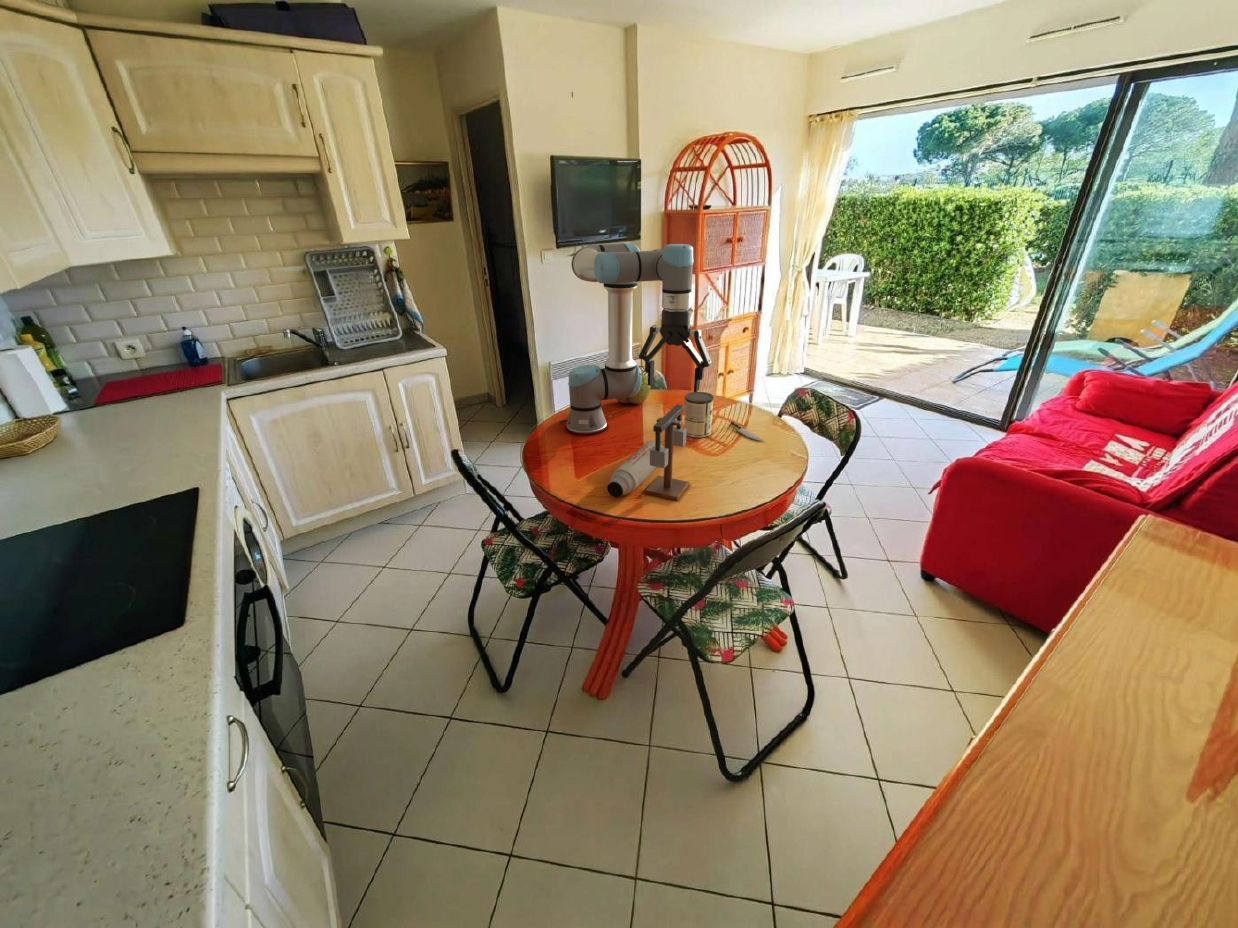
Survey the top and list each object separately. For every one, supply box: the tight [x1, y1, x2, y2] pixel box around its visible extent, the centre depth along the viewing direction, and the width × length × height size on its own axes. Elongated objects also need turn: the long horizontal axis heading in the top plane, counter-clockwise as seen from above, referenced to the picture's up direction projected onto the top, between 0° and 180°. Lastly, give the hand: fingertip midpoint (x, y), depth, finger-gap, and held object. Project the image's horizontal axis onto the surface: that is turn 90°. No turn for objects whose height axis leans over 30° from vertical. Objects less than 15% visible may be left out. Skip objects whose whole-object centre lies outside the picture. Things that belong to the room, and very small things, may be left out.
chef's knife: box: [730, 421, 764, 442], centre depth 188 cm, size 19×1×3 cm
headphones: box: [650, 404, 687, 469], centre depth 144 cm, size 4×17×12 cm, turn 153°
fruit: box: [616, 372, 651, 405], centre depth 217 cm, size 16×14×15 cm
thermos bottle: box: [606, 440, 664, 499], centre depth 154 cm, size 8×8×28 cm
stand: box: [644, 417, 690, 501], centre depth 147 cm, size 10×10×22 cm
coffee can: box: [683, 391, 715, 438], centre depth 187 cm, size 10×10×14 cm
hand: (673, 387), depth 142 cm, fingers open, 13 cm apart
